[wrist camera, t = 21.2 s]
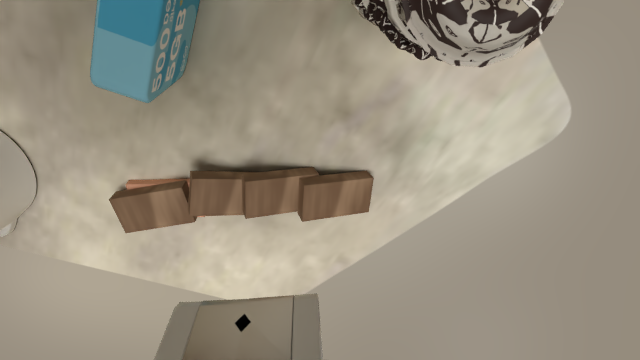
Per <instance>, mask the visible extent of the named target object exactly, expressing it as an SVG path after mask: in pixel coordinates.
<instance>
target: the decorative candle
mask: <svg viewBox="0 0 640 360" xmlns="http://www.w3.org/2000/svg"><path fill="white" fill-rule="evenodd" d="M351 3H352V4H353V5H354V6H355V8H356V9H357V10H358V12H359V14H360V15H361V16H362V17H363V18H366V19H367V20H369V21H370V22H372V23H373V24H374V25H376V26H378V27H379V28H380V30H381V31H382V32H383V33H385V34H386V36H387V37H388V39H389V40H390V41H391V42H392V43H395V45H396V46H397V48H399V49H402V50H406V51H407V52H409V53H412V54H414V55H415V57H416V58H418V59H420V60H425V59H427V58H429V57H430V56H434V58H436V59H437V60H439V61H444V62H446V63H448V64H450V65H455V66H471V67H483V66H486V65H489V64H492V63H495V62H498V61H501V60H504V59H507V58H510V57H513V56H514V55H515V54H517V53H518V52H519V51H520V50H522V49H523V48H524V47H526V46H527V45H528V44H530V43H531V42H532V41H534V40H535V39H536V38H537V37H539V36H540V35H541V34H542V32H543V31H544V30H545V28H546V27H547V26H548V24H549V23H550V21H551V20H552V18H553V17H554V16H555V14H556V13H557V11H558V10H559V9H560V7H561V6H562V5H563V3H564V0H351Z"/></svg>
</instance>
